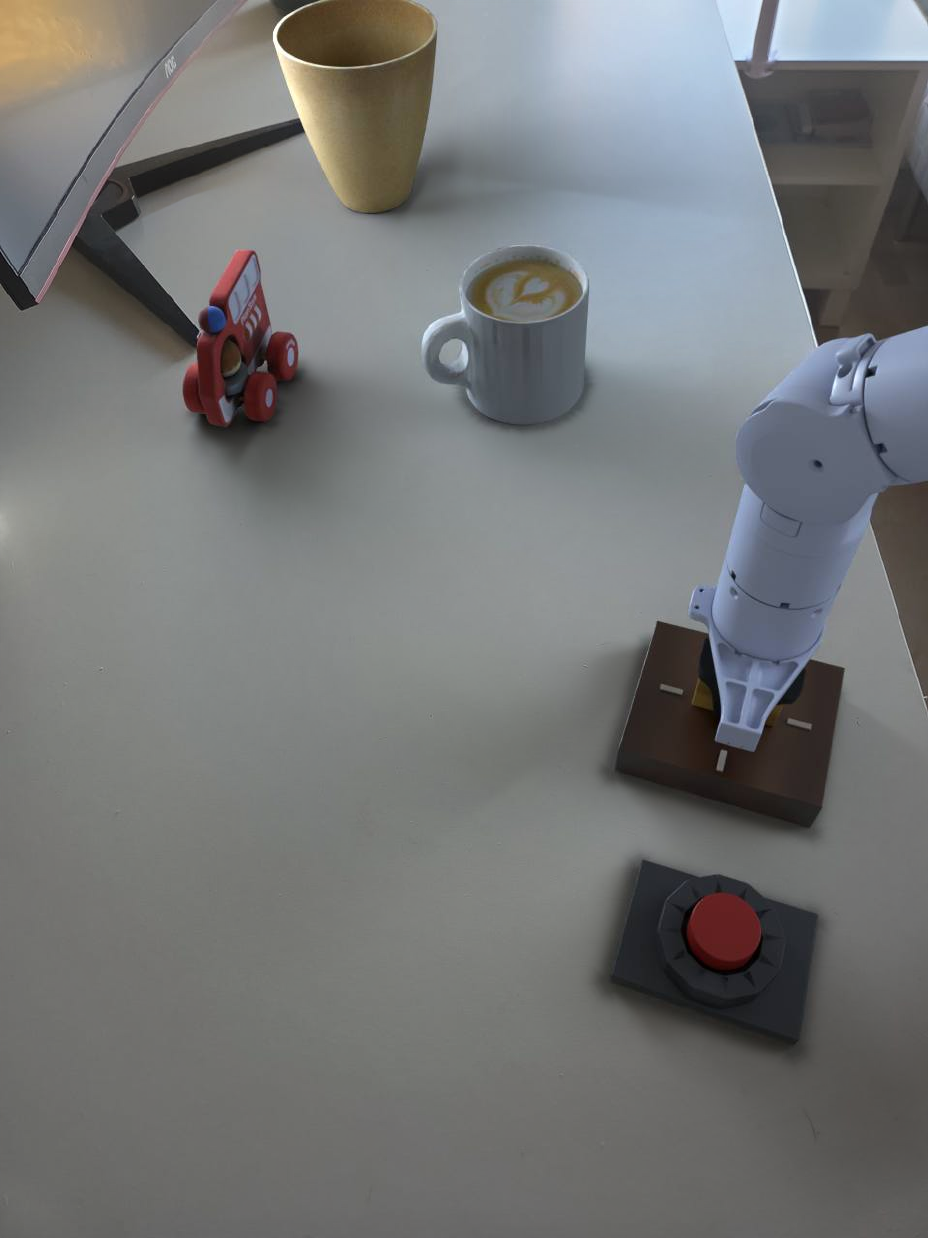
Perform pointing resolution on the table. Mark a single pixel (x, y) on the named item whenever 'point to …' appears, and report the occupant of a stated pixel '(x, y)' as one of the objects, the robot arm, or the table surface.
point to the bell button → (723, 931)
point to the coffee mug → (517, 334)
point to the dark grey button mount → (671, 972)
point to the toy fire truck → (238, 349)
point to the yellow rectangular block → (705, 701)
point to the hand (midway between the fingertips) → (735, 703)
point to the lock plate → (695, 763)
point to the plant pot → (362, 92)
